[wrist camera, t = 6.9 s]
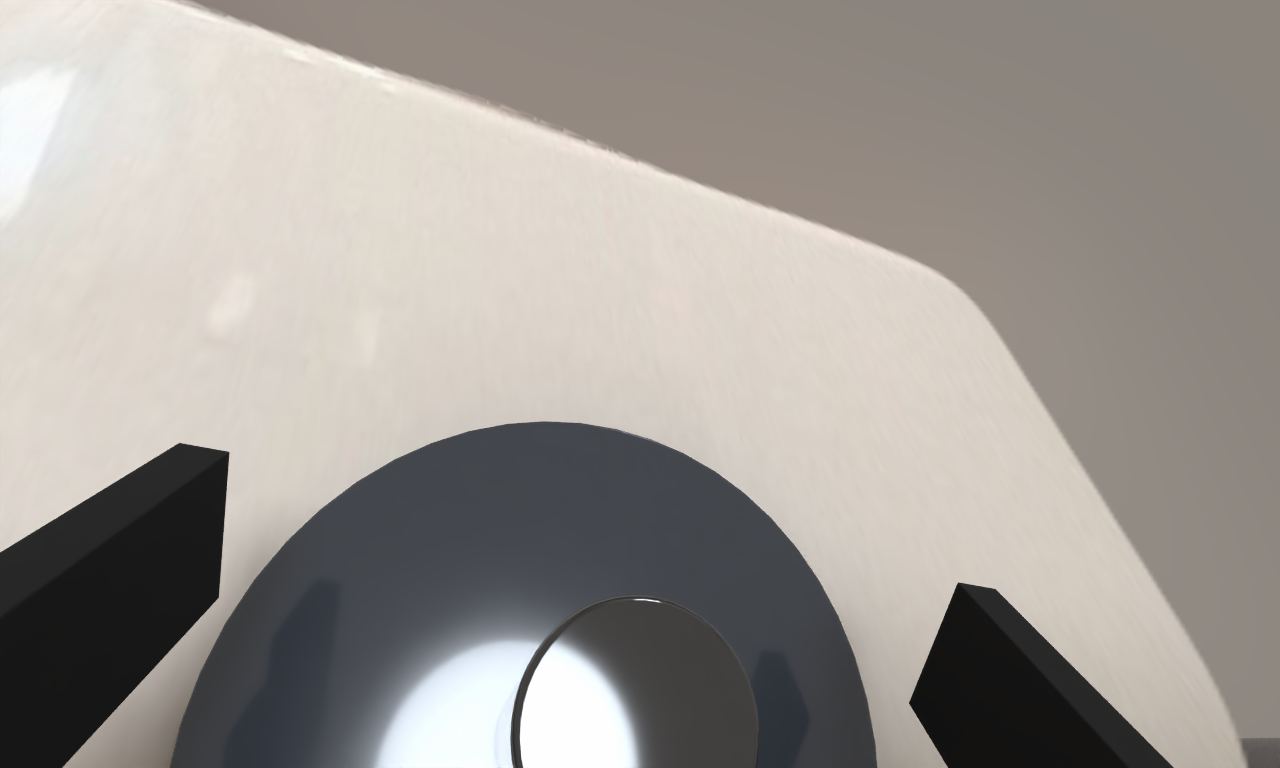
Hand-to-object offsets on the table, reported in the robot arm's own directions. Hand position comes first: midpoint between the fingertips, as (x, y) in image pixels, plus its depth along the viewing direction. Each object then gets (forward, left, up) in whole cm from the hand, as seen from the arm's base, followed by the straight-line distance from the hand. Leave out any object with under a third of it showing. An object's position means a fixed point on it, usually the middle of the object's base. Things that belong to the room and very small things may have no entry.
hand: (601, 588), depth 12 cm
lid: (-1, +2, -5) cm, 5 cm away
